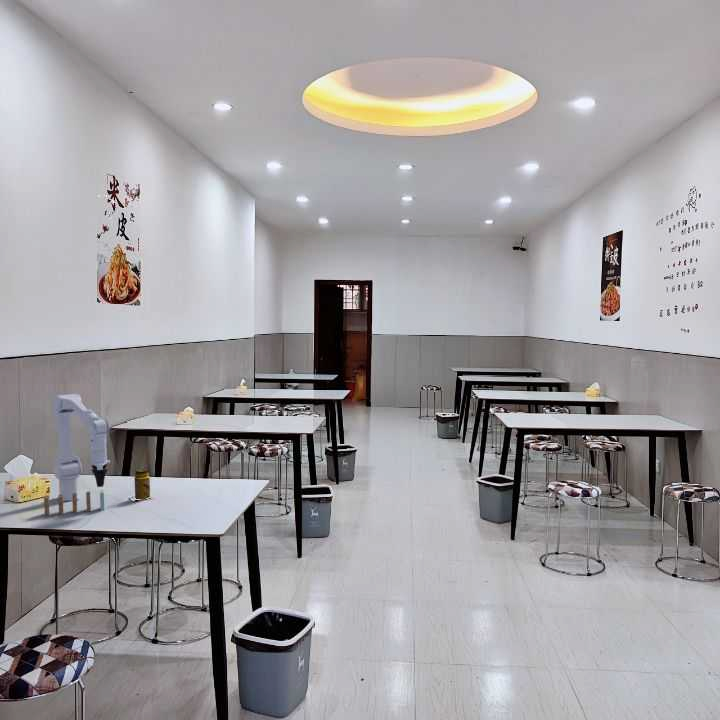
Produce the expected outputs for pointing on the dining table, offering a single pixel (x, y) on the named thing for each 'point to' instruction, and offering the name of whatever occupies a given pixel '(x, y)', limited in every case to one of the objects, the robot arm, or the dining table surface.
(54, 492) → the dining table surface
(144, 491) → the condiment
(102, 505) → the domino
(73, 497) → the domino
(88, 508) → the domino
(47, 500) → the domino
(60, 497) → the domino
